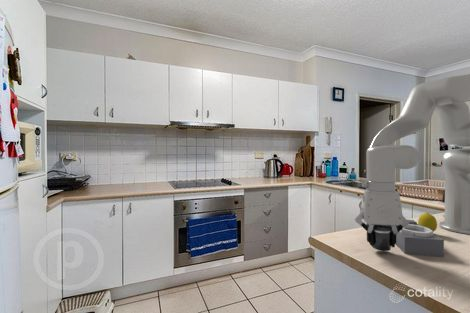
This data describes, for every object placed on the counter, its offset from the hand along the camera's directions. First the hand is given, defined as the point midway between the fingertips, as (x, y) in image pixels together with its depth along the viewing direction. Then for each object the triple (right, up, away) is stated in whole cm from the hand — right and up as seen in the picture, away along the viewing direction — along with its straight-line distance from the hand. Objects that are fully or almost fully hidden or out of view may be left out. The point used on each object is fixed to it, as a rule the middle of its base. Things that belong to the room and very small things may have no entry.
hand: (381, 244), depth 74 cm
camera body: (+13, -2, +5) cm, 15 cm away
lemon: (+27, -2, +15) cm, 31 cm away
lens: (0, -1, 0) cm, 1 cm away
